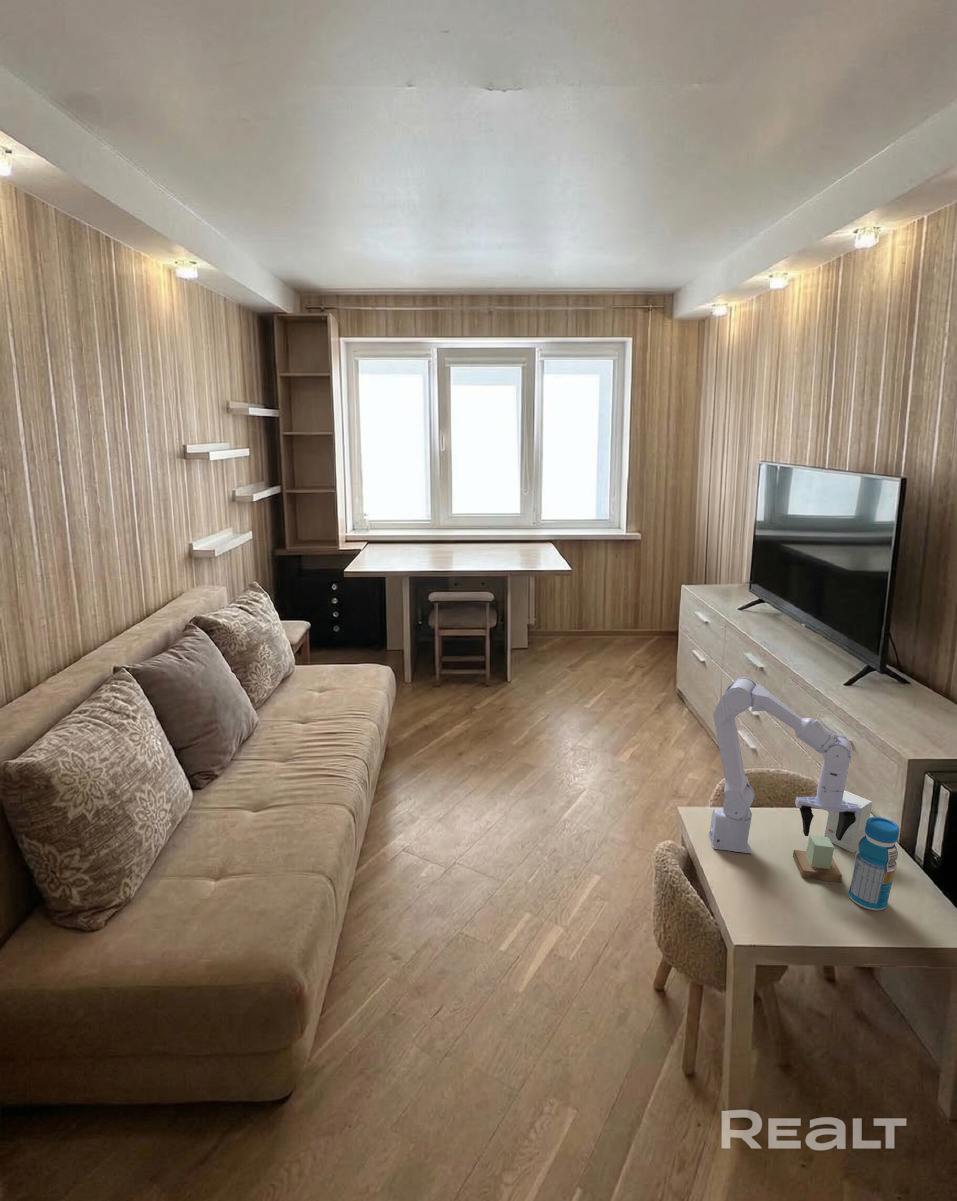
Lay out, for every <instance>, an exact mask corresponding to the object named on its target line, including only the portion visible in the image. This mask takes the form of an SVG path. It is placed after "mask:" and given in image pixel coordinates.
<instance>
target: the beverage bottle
mask: <svg viewBox="0 0 957 1201" xmlns="http://www.w3.org/2000/svg"><path fill="white" fill-rule="evenodd" d="M865 834H866V835H865V836H864V837H863V838H862V839H861V840H860V842H859V844H858V848H859V849H858V850H857V851H855V855H854V865H853V870H852V873H851V874H852V875H851V880H850V883H849V884H850V885H849V889H848V895H849V898H850V899H851V901H853V903H854V904H856V905H858V907H859V906H860V907H861V908H864V909H866V910H872V911H883V910H885V909H886V908H887V907H888V903H889V899H890V893H891V889H892V885H893V879H894V876H895V872H896V869H897V860H898V858H899V853H898V852H899V851H898V848H897V846H896V843H897V842H898V841H899V840H898V839H899V835H900V827H899V825H898V824H897V823H895V822H894V821H893V820H891V819H888V818H886V817H885V818H884V817H880V816H872V817H869V818H868V820H867V822H866V827H865Z"/></svg>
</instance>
